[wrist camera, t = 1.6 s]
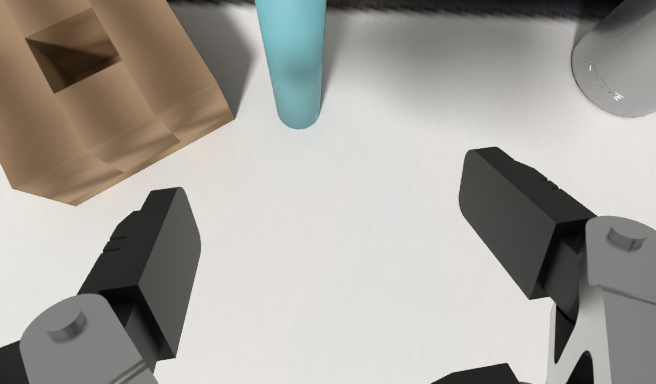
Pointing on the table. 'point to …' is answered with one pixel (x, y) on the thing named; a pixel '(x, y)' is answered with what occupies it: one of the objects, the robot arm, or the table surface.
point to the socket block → (97, 93)
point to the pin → (294, 56)
